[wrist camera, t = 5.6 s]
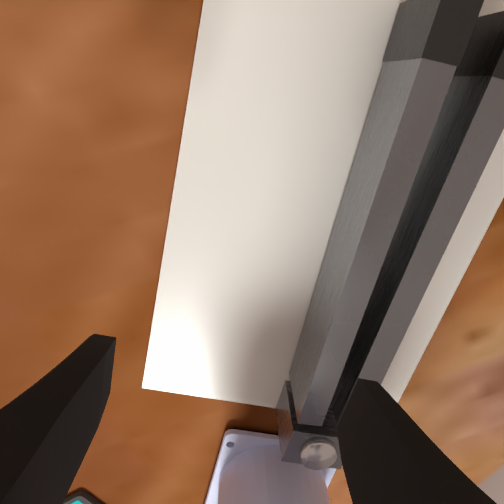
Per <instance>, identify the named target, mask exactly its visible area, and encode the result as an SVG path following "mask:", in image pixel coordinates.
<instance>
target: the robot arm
mask: <svg viewBox="0 0 504 504" xmlns="http://www.w3.org/2000/svg"><path fill="white" fill-rule="evenodd" d="M115 345H116V337H110V336H104V335H98V334H93V335H91V336H90V337H89V338H88V339H87V340H85V341H84V342H83V343H82V344H81V345H80V346H79V347H78V348H77V349H76V350H75V351H73V352H72V353H71V354H70V355H69V356H68V357H67V358H66V359H64V360H63V361H62V362H61V363H60V364H59V365H57V366H56V367H55V368H54V369H53V370H51V371H50V372H49V373H48V374H46V375H45V376H44V377H43V378H42V379H40V380H39V381H38V382H37V383H35V384H34V385H33V386H31V387H30V388H29V389H27V390H26V391H25V392H23V393H22V394H21V395H19V396H18V397H17V398H15V399H14V400H13V401H11V402H10V403H9V404H7V405H6V406H4V407H3V408H2V409H0V504H62V503H63V501H64V499H65V497H66V495H67V493H68V490H69V488H70V486H71V484H72V482H73V480H74V478H75V476H76V473H77V471H78V469H79V467H80V465H81V463H82V461H83V459H84V456H85V454H86V452H87V450H88V448H89V446H90V444H91V441H92V439H93V437H94V435H95V433H96V431H97V428H98V426H99V423H100V420H101V417H102V414H103V412H104V409H105V406H106V403H107V400H108V397H109V394H110V388H111V379H112V370H113V362H114V353H115ZM337 434H338V441H339V448H340V455H341V461H342V465H343V469H344V473H345V476H346V480H347V484H348V488H349V491H350V495H351V499H352V502H353V504H496V503H495V502H494V501H493V500H492V499H491V498H490V497H489V496H487V495H486V494H485V493H484V492H483V491H482V490H481V489H480V488H479V487H477V486H476V485H475V484H474V483H473V482H472V481H471V480H470V479H469V478H468V477H467V476H466V475H465V474H464V473H463V472H462V471H461V470H460V469H459V468H458V467H457V466H456V465H455V464H454V463H453V462H452V461H451V460H450V459H449V458H448V457H447V456H446V455H445V454H444V453H443V452H442V451H441V450H440V449H439V448H438V447H437V446H436V445H435V444H434V443H433V442H432V441H431V439H430V438H429V437H428V436H427V435H426V434H425V433H424V432H423V431H422V430H421V429H420V428H419V426H418V425H417V424H416V423H415V422H414V421H413V420H412V419H411V418H410V416H409V415H408V414H407V413H406V412H405V411H404V410H403V409H402V408H401V406H400V405H399V404H398V403H397V402H396V401H395V400H394V399H393V398H392V396H391V395H390V394H389V393H388V392H387V391H386V390H385V389H384V388H383V387H382V386H381V385H380V384H379V383H378V382H377V381H372V380H366V379H360V378H358V380H357V382H356V384H355V386H354V389H353V391H352V393H351V395H350V398H349V400H348V402H347V404H346V407H345V409H344V411H343V413H342V416H341V418H340V420H339V422H338V425H337ZM335 471H336V469H334V468H326V469H323V470H312V469H309V468H307V467H305V466H304V465H303V464H297V463H290V462H283V461H281V452H280V443H279V436H278V435H272V434H265V433H258V432H251V431H244V430H237V429H229V430H227V431H226V432H225V433H224V437H223V440H222V444H221V447H220V451H219V454H218V458H217V461H216V465H215V468H214V472H213V475H212V478H211V482H210V485H209V489H208V492H207V496H206V499H205V503H204V504H330V501H329V496H328V491H327V488H328V486H329V483H330V481H331V479H332V477H333V475H334V473H335Z"/></svg>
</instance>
